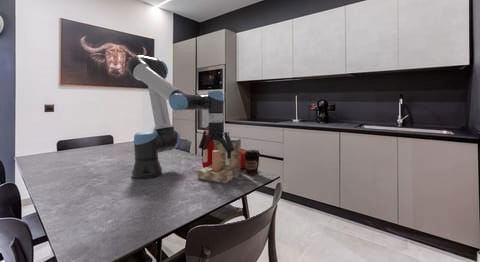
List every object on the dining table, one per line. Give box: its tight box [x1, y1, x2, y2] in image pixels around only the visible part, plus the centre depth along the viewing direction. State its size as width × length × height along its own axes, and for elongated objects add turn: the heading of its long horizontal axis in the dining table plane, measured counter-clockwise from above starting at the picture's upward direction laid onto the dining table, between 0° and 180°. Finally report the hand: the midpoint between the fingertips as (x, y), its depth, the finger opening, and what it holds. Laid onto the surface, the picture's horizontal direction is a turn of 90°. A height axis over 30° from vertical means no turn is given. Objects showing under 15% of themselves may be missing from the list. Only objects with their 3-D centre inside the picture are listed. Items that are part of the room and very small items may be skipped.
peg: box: [212, 150, 220, 172], centre depth 120 cm, size 4×4×14 cm
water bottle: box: [201, 125, 214, 168], centre depth 142 cm, size 9×11×25 cm
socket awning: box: [197, 137, 242, 184], centre depth 123 cm, size 16×17×19 cm
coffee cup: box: [245, 149, 261, 176], centre depth 126 cm, size 9×8×13 cm
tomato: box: [241, 149, 247, 169], centre depth 140 cm, size 14×13×10 cm
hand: (216, 163), depth 120 cm, fingers open, 13 cm apart
